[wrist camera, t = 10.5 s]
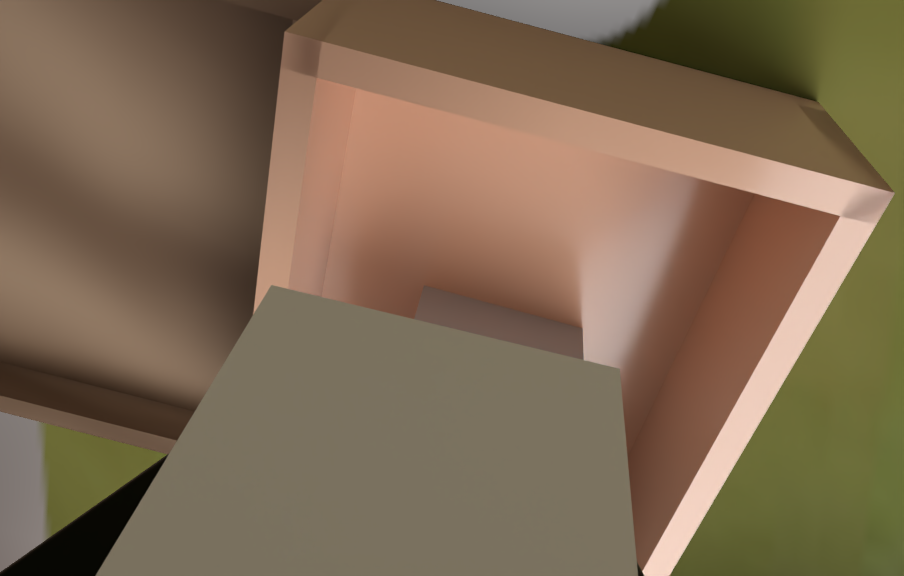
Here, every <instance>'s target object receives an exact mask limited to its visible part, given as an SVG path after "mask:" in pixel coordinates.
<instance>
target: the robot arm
mask: <svg viewBox="0 0 904 576" xmlns="http://www.w3.org/2000/svg"><path fill="white" fill-rule="evenodd" d="M168 455H169V454H168ZM168 455H166V456H165V457H164V458H162V459H161V460H159V461H158V462H156V463H155V464H154V465H152V466H151V467H149V468H148V469H146V470H145V471H144V472H142V473H141V474H139V475H138V476H137V477H135V478H134V479H132V480H131V481H129V482H128V483H127V484H125V485H124V486H122V487H121V488H119V489H118V490H117V491H115V492H114V493H112V494H111V495H109V496H108V497H107V498H105V499H104V500H102V501H101V502H100V503H98V504H97V505H95V506H94V507H92V508H91V509H90V510H88V511H87V512H85V513H84V514H82V515H81V516H80V517H78V518H77V519H75V520H74V521H73V522H71V523H70V524H68V525H67V526H65V527H64V528H63V529H61V530H60V531H58V532H57V533H55V534H54V535H53V536H51V537H50V538H48V539H47V540H46V541H44V542H43V543H41V544H40V545H38V546H37V547H36V548H34V549H33V550H31V551H30V552H29V553H27V554H26V555H24V556H23V557H22V558H20V559H18V560H17V561H16V562H14V563H13V564H11V565H10V566H9V567H7V568H6V569H4V570H3V571H1V572H0V576H96V574H97V572H98V571H99V569H100V568H101V566H102V564H103V563H104V561H105V559H106V558H107V556H108V554H109V553H110V551H111V549H112V548H113V546H114V544H115V543H116V541H117V539H118V538H119V536H120V534H121V533H122V531H123V529H124V528H125V526H126V525H127V523H128V521H129V520H130V518H131V516H132V515H133V513H134V511H135V510H136V508H137V506H138V505H139V503H140V501H141V500H142V498H143V496H144V495H145V493H146V491H147V490H148V488H149V486H150V485H151V483H152V482H153V480H154V478H155V477H156V475H157V473H158V472H159V470H160V468H161V467H162V465H163V463H164V462H165V460H166V458H167V457H168ZM637 570H638V576H645V575H644V574H643V572H642V570H641V568H640V566H639V565H638V563H637Z"/></svg>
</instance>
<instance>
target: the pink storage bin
mask: <svg viewBox="0 0 904 576" xmlns="http://www.w3.org/2000/svg"><path fill="white" fill-rule="evenodd" d="M894 194H895V193H894V191H893V190H892V189H891V188H890V187H889V185H888V184H887V183H886V182H885V181H884V179H883V178H882V177H881V176H880V175H879V173H878V172H877V171H876V170H875V169H874V168H873V166H872V165H871V164H870V163H869V162H868V160H867V159H866V158H865V157H864V156H863V154H862V153H861V152H860V151H859V150H858V149H857V147H856V146H855V145H854V144H853V143H852V141H851V140H850V139H849V138H848V137H847V135H846V134H845V133H844V132H843V131H842V130H841V128H840V127H839V126H838V125H837V124H836V122H835V121H834V120H833V119H832V118H831V116H830V115H829V114H828V113H827V112H826V111H825V109H824V108H823V107H822V106H821V105H820V103H819V102H816V101H812V100H809V99H805V98H801V97H797V96H794V95H790V94H786V93H782V92H779V91H775V90H771V89H767V88H764V87H760V86H756V85H752V84H749V83H745V82H741V81H737V80H734V79H730V78H726V77H722V76H719V75H715V74H711V73H707V72H703V71H700V70H696V69H692V68H688V67H685V66H681V65H677V64H673V63H670V62H666V61H662V60H658V59H655V58H651V57H647V56H643V55H640V54H636V53H632V52H628V51H625V50H621V49H617V48H613V47H610V46H606V45H602V44H598V43H595V42H591V41H587V40H583V39H579V38H576V37H572V36H568V35H564V34H561V33H557V32H553V31H549V30H546V29H542V28H538V27H534V26H530V25H527V24H523V23H519V22H515V21H512V20H508V19H504V18H500V17H496V16H493V15H489V14H486V13H482V12H478V11H474V10H471V9H467V8H463V7H459V6H455V5H452V4H448V3H444V2H440V1H436V0H322V1H321V2H320V3H318V4H317V5H316V6H315V7H314V8H312V9H311V10H310V11H309V12H308V13H306V14H305V15H304V16H303V17H302V18H300V19H299V20H298V21H297V22H295V23H294V24H293V25H292V26H291V27H289V28H288V29H287V30H286V31H285V32H284V41H283V50H282V59H281V68H280V78H279V87H278V96H277V105H276V114H275V123H274V132H273V141H272V150H271V159H270V168H269V177H268V186H267V195H266V204H265V213H264V222H263V231H262V240H261V249H260V258H259V267H258V276H257V285H256V294H255V303H254V312H253V314H254V313H255V311H256V310H257V308H258V306H259V305H260V303H261V301H262V300H263V298H264V296H265V295H266V293H267V291H268V290H269V288H270V286H271V285H274V286H278V287H282V288H287V289H291V290H295V291H299V292H303V293H307V294H311V295H316V296H320V297H324V298H328V299H332V300H336V301H341V302H345V303H349V304H353V305H357V306H361V307H365V308H370V309H374V310H378V311H382V312H386V313H390V314H395V315H399V316H403V317H407V318H411V319H414V318H415V314H416V311H417V307H418V304H419V301H420V297H421V294H422V290H423V287H424V285H425V286H428V287H432V288H436V289H439V290H443V291H447V292H450V293H454V294H458V295H462V296H465V297H469V298H473V299H476V300H480V301H484V302H487V303H491V304H495V305H498V306H502V307H506V308H509V309H513V310H517V311H521V312H524V313H528V314H532V315H535V316H539V317H543V318H546V319H550V320H554V321H557V322H561V323H565V324H568V325H572V326H576V327H580V328H583V353H584V360H586V361H590V362H594V363H598V364H602V365H606V366H611V367H615V368H619V369H620V378H621V389H622V401H623V412H624V423H625V434H626V446H627V457H628V468H629V480H630V491H631V502H632V513H633V525H634V536H635V547H636V558H637V563H638V565H639V566H640V568H641V570H642V572H643V574H644V575H645V576H669V575H670V574H671V572H672V570H673V569H674V567H675V565H676V564H677V562H678V560H679V559H680V557H681V555H682V553H683V552H684V550H685V548H686V547H687V545H688V543H689V542H690V540H691V538H692V536H693V535H694V533H695V531H696V530H697V528H698V526H699V525H700V523H701V521H702V519H703V518H704V516H705V514H706V513H707V511H708V509H709V508H710V506H711V504H712V502H713V501H714V499H715V497H716V496H717V494H718V492H719V491H720V489H721V487H722V486H723V484H724V482H725V480H726V479H727V477H728V475H729V474H730V472H731V470H732V469H733V467H734V465H735V463H736V462H737V460H738V458H739V457H740V455H741V453H742V452H743V450H744V448H745V446H746V445H747V443H748V441H749V440H750V438H751V436H752V435H753V433H754V431H755V430H756V428H757V426H758V424H759V423H760V421H761V419H762V418H763V416H764V414H765V413H766V411H767V409H768V407H769V406H770V404H771V402H772V401H773V399H774V397H775V396H776V394H777V392H778V390H779V389H780V387H781V385H782V384H783V382H784V380H785V379H786V377H787V375H788V373H789V372H790V370H791V368H792V367H793V365H794V363H795V362H796V360H797V358H798V357H799V355H800V353H801V351H802V350H803V348H804V346H805V345H806V343H807V341H808V340H809V338H810V336H811V334H812V333H813V331H814V329H815V328H816V326H817V324H818V323H819V321H820V319H821V317H822V316H823V314H824V312H825V311H826V309H827V307H828V306H829V304H830V302H831V300H832V299H833V297H834V295H835V294H836V292H837V290H838V289H839V287H840V285H841V284H842V282H843V280H844V278H845V277H846V275H847V273H848V272H849V270H850V268H851V267H852V265H853V263H854V261H855V260H856V258H857V256H858V255H859V253H860V251H861V250H862V248H863V246H864V244H865V243H866V241H867V239H868V238H869V236H870V234H871V233H872V231H873V229H874V227H875V226H876V224H877V222H878V221H879V219H880V217H881V216H882V214H883V212H884V211H885V209H886V207H887V205H888V204H889V202H890V200H891V199H892V197H893V195H894Z"/></svg>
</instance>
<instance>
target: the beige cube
mask: <svg viewBox="0 0 904 576" xmlns="http://www.w3.org/2000/svg"><path fill="white" fill-rule="evenodd" d="M96 576H638V570H637V558H636V547H635V536H634V525H633V513H632V502H631V491H630V480H629V468H628V457H627V446H626V434H625V423H624V412H623V401H622V389H621V378H620V369H619V368H615V367H611V366H606V365H602V364H598V363H594V362H590V361H586V360H581V359H577V358H573V357H569V356H565V355H561V354H557V353H552V352H548V351H544V350H540V349H536V348H532V347H527V346H523V345H519V344H515V343H511V342H507V341H503V340H498V339H494V338H490V337H486V336H482V335H478V334H473V333H469V332H465V331H461V330H457V329H453V328H449V327H444V326H440V325H436V324H432V323H428V322H424V321H419V320H415V319H411V318H407V317H403V316H399V315H395V314H390V313H386V312H382V311H378V310H374V309H370V308H365V307H361V306H357V305H353V304H349V303H345V302H341V301H336V300H332V299H328V298H324V297H320V296H316V295H311V294H307V293H303V292H299V291H295V290H291V289H287V288H282V287H278V286H274V285H271V286H270V288H269V290H268V291H267V293H266V295H265V296H264V298H263V300H262V301H261V303H260V305H259V306H258V308H257V310H256V311H255V313H254V314H253V316H252V318H251V319H250V321H249V323H248V324H247V326H246V328H245V329H244V331H243V333H242V334H241V336H240V338H239V339H238V341H237V343H236V344H235V346H234V348H233V349H232V351H231V353H230V354H229V356H228V357H227V359H226V361H225V362H224V364H223V366H222V367H221V369H220V371H219V372H218V374H217V376H216V377H215V379H214V381H213V382H212V384H211V386H210V387H209V389H208V391H207V392H206V394H205V396H204V397H203V399H202V400H201V402H200V404H199V405H198V407H197V409H196V410H195V412H194V414H193V415H192V417H191V419H190V420H189V422H188V424H187V425H186V427H185V429H184V430H183V432H182V434H181V435H180V437H179V439H178V440H177V442H176V443H175V445H174V447H173V448H172V450H171V452H170V453H169V455H168V457H167V458H166V460H165V462H164V463H163V465H162V467H161V468H160V470H159V472H158V473H157V475H156V477H155V478H154V480H153V482H152V483H151V485H150V486H149V488H148V490H147V491H146V493H145V495H144V496H143V498H142V500H141V501H140V503H139V505H138V506H137V508H136V510H135V511H134V513H133V515H132V516H131V518H130V520H129V521H128V523H127V525H126V526H125V528H124V529H123V531H122V533H121V534H120V536H119V538H118V539H117V541H116V543H115V544H114V546H113V548H112V549H111V551H110V553H109V554H108V556H107V558H106V559H105V561H104V563H103V564H102V566H101V568H100V569H99V571H98V572H97V574H96Z"/></svg>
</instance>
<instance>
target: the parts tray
mask: <svg viewBox="0 0 904 576" xmlns="http://www.w3.org/2000/svg"><path fill="white" fill-rule="evenodd" d="M321 1H322V0H0V411H1V412H4V413H8V414H12V415H16V416H20V417H24V418H28V419H32V420H35V421H39V422H43V423H47V424H51V425H55V426H59V427H63V428H67V429H71V430H75V431H79V432H83V433H87V434H91V435H94V436H98V437H102V438H106V439H110V440H114V441H118V442H122V443H126V444H130V445H134V446H138V447H142V448H146V449H150V450H153V451H157V452H161V453H165V454H169V453H170V452H171V450H172V448H173V447H174V445H175V443H176V442H177V440H178V439H179V437H180V435H181V434H182V432H183V430H184V429H185V427H186V425H187V424H188V422H189V420H190V419H191V417H192V415H193V414H194V412H195V410H196V409H197V407H198V405H199V404H200V402H201V400H202V399H203V397H204V396H205V394H206V392H207V391H208V389H209V387H210V386H211V384H212V382H213V381H214V379H215V377H216V376H217V374H218V372H219V371H220V369H221V367H222V366H223V364H224V362H225V361H226V359H227V357H228V356H229V354H230V353H231V351H232V349H233V348H234V346H235V344H236V343H237V341H238V339H239V338H240V336H241V334H242V333H243V331H244V329H245V328H246V326H247V324H248V323H249V321H250V319H251V318H252V316H253V312H254V303H255V294H256V285H257V276H258V267H259V258H260V249H261V240H262V231H263V222H264V213H265V204H266V195H267V186H268V177H269V168H270V159H271V150H272V141H273V132H274V123H275V114H276V105H277V96H278V87H279V78H280V68H281V59H282V50H283V41H284V32H285V31H286V30H287V29H288V28H289V27H291V26H292V25H293V24H294V23H295V22H297V21H298V20H299V19H300V18H302V17H303V16H304V15H305V14H306V13H308V12H309V11H310V10H311V9H312V8H314V7H315V6H316V5H317V4H318V3H320V2H321Z"/></svg>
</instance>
